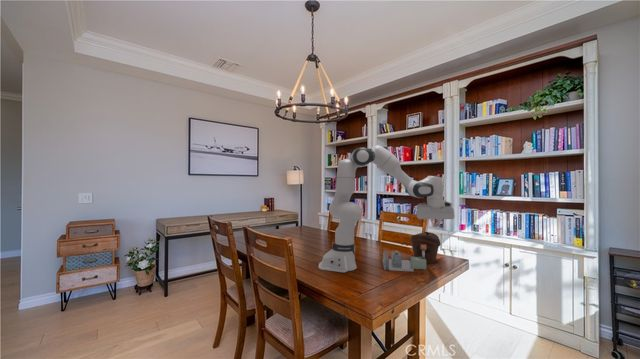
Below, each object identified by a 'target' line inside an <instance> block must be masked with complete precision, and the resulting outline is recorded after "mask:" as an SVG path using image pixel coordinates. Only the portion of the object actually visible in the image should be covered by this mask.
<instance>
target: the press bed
mask: <svg viewBox="0 0 640 359" xmlns="http://www.w3.org/2000/svg"><path fill="white" fill-rule="evenodd" d="M382 256H383V258H382V265H383V269H384V271H397V272H398V271H399V272H400V271H401V272H414V270H415V269H413V267H412V265H411V263H410V259H409V260H408V259H402V266H395V265H393V264H392V258H389V256H388V252H387V251H383V254H382Z"/></svg>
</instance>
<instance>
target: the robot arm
mask: <svg viewBox="0 0 640 359" xmlns="http://www.w3.org/2000/svg"><path fill="white" fill-rule="evenodd" d="M370 163H372V164H374V165H376V166H377V168H379V169H380V170H381V171H383V172H384V173H386V174H388V175H389V176H391V177H393V178H394V179H395V180H397V181H398V182H399V183H400V184H401V185H402V186H403V187H404V190H405V191H406V193H407V194H408V196H409V197H413V198H417V199H424V198H426V202H423V203H420V202H419V203H418V204H417V205H416V218H417V219H419V220H430V222H431V225H432V227H433V228H435V227H436V228H439V224H440V222H441V220H454V219H455V210H454V208H453V203H452V202H449V201H447V200H444V196H443V193H444V183H443V178H442V177H441V176H439V175H431V174H430V175H427V177H425V178H423V179H421V180H415V179H412V178H411V177H410V176H409V175H408V174H407V173H406V172H405V171H404V170H402V167H401V162H400V160H399V159H398V158H397V157H396V156H395V154H393V153H392V152H391V151H390V150H389V149H387V148H386V147H384V146H382V145H380V144H376V145H374V146H372V147H371V148H368V147H364V146H362V147H357V148H355V149H354V150H353V151H352V153H351V155H350V156H349V158H344V159H342V160H341V159H340V160H339V162H338V165H337V169H336V170H337V171H336V177H335V178H336V180H335V182H336V183H335V191H334V192H335V193H334V196H333V199H332V201H331V203H330V204H329V206H328V212H329V214H330V215H331V216H332V217H334V218H335V219H339V223H338V226H337V227H336V229H335V230H334V232H335V233H334V238H335V239H334V240H335V241H332V242H331V249H330V250H329V251H327V252H326V253H324V255H323V257H322V260H321V261H320V262H319V263H318V266H317V267H318V269H319V270H322V271H329V272H336V273H337V272H338V273H347V272H351V271H354V270H356V269H357V263H356V258H355V253H356V245H355V244H356V243H355V229H356V224H357V222H358V221H359V220H360V219H361V218H362V215H363V210H362V207H361V206H360V205H359V204H357V203H355V202H352V201H350V200H351V197H352V195H353V194H354V193H355V190H356V172H357V169H358V168H362V167H363V168H364V167H365V166H367V165H369V164H370ZM435 220H436V223H434V221H435Z"/></svg>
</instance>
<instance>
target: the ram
mask: <svg viewBox="0 0 640 359" xmlns="http://www.w3.org/2000/svg"><path fill="white" fill-rule="evenodd" d="M421 250H422V258H413V259H425V250H426V244H421ZM425 260H426V259H425Z"/></svg>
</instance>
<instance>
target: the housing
mask: <svg viewBox="0 0 640 359" xmlns="http://www.w3.org/2000/svg"><path fill="white" fill-rule="evenodd" d="M391 259H392V264H393V265H395V266H402V260H403V255H402V252H400V251H399V250H395V251H391Z"/></svg>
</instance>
